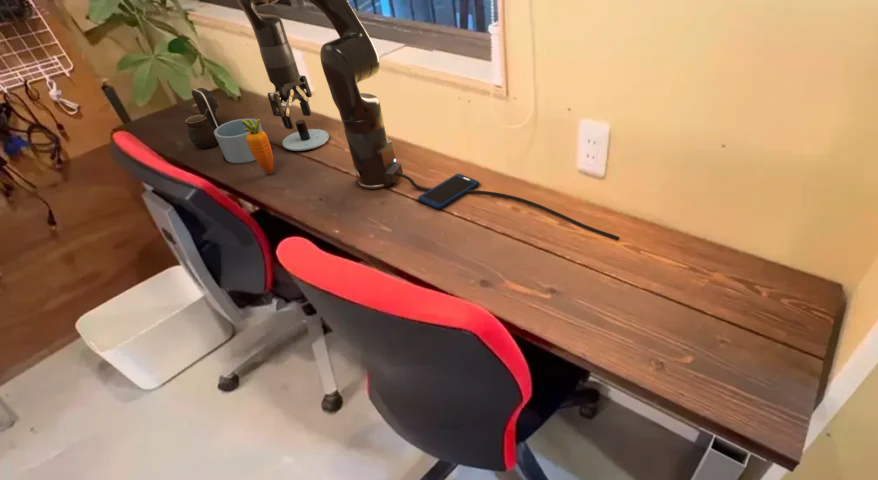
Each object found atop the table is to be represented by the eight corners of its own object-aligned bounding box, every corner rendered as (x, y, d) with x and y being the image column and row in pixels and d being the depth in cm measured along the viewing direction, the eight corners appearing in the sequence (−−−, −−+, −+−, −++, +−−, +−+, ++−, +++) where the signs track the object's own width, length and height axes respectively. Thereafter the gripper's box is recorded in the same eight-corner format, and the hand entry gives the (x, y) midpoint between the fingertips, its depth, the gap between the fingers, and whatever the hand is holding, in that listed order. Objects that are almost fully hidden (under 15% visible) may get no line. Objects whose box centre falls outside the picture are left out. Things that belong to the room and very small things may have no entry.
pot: (278, 145, 146) (269, 120, 141) (252, 165, 137) (241, 139, 132) (243, 141, 148) (233, 117, 144) (216, 161, 140) (204, 135, 135)
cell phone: (480, 184, 124) (480, 181, 124) (439, 210, 116) (438, 207, 116) (458, 175, 128) (458, 172, 127) (417, 200, 120) (416, 197, 120)
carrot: (284, 169, 135) (263, 114, 125) (275, 179, 131) (253, 122, 121) (266, 169, 135) (244, 114, 125) (257, 178, 132) (233, 122, 122)
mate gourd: (191, 145, 148) (174, 111, 142) (218, 136, 152) (203, 103, 145) (198, 153, 144) (181, 119, 137) (225, 144, 147) (210, 110, 141)
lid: (337, 134, 149) (332, 114, 145) (313, 154, 140) (307, 133, 136) (300, 130, 152) (293, 110, 148) (274, 150, 143) (266, 129, 139)
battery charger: (228, 127, 156) (212, 90, 149) (216, 132, 154) (199, 94, 147) (218, 121, 160) (201, 85, 152) (206, 126, 158) (189, 89, 150)
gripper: (275, 72, 126) (296, 134, 136) (307, 52, 136) (324, 112, 146) (249, 70, 127) (271, 132, 138) (283, 51, 137) (301, 110, 148)
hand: (299, 121), depth 142 cm, fingers open, 8 cm apart
